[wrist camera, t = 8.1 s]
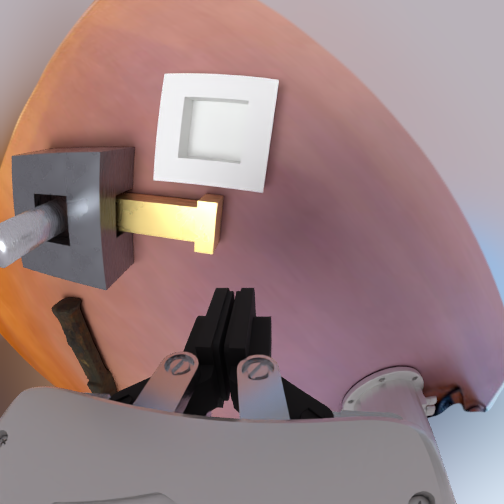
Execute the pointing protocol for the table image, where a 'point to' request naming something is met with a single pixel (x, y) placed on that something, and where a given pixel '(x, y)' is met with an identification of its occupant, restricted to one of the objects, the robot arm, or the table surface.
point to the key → (172, 218)
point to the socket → (78, 210)
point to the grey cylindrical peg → (31, 229)
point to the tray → (215, 130)
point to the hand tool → (83, 345)
